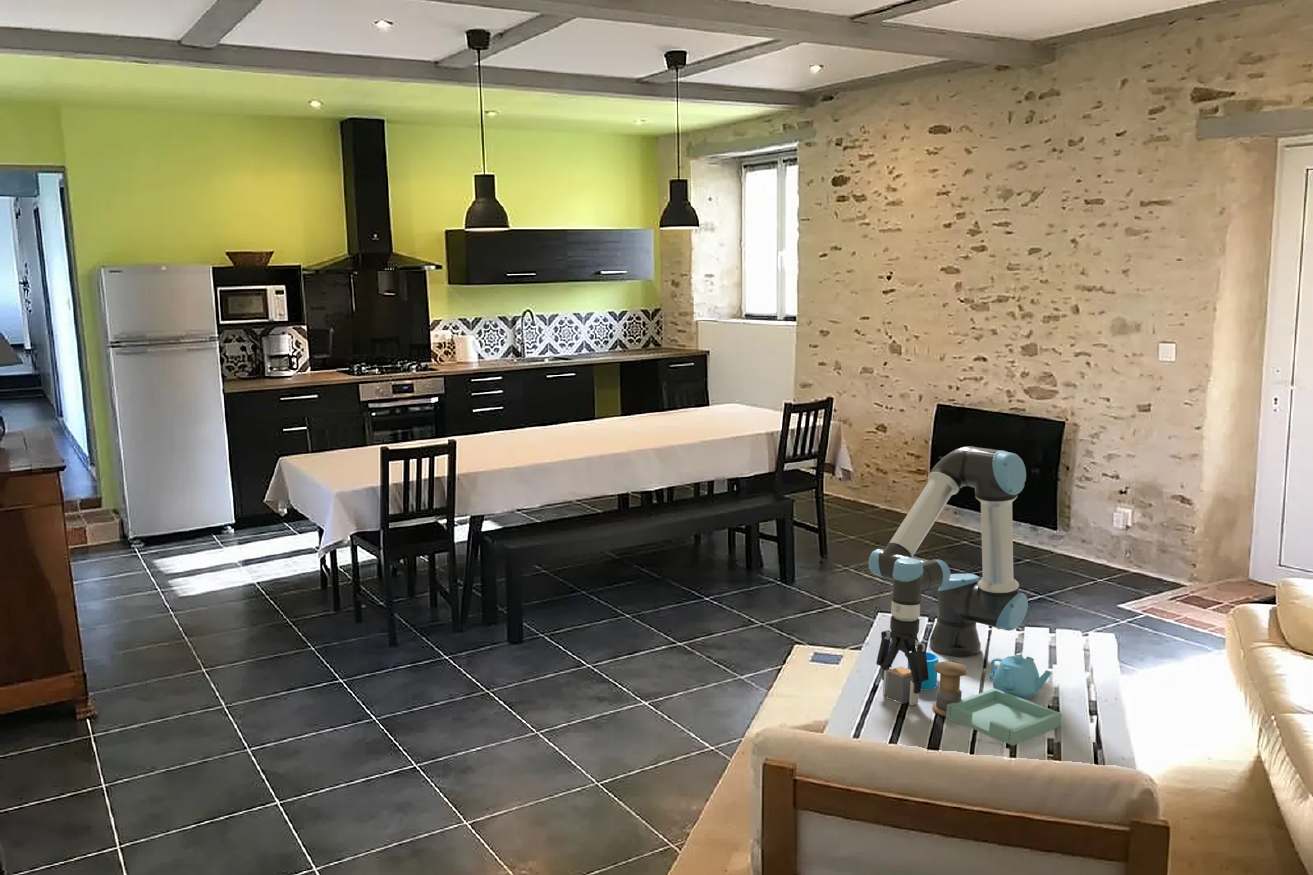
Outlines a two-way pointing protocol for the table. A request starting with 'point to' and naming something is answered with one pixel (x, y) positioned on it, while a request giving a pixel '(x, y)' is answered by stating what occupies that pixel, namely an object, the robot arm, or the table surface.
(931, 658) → the mug
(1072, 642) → the table surface
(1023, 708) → the pale green tray
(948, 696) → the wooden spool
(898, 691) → the gray and orange block
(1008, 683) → the teapot
